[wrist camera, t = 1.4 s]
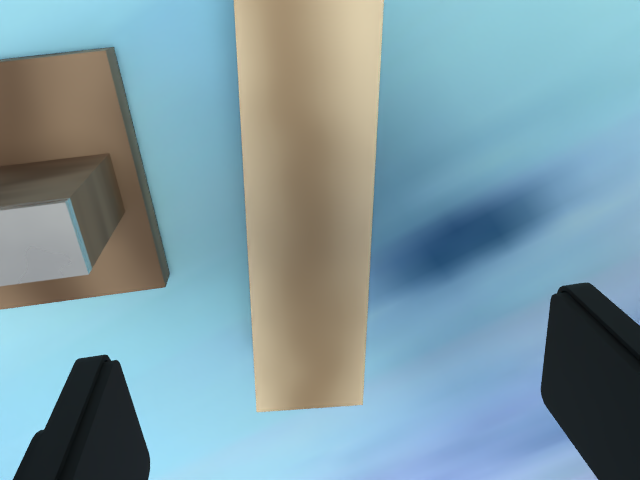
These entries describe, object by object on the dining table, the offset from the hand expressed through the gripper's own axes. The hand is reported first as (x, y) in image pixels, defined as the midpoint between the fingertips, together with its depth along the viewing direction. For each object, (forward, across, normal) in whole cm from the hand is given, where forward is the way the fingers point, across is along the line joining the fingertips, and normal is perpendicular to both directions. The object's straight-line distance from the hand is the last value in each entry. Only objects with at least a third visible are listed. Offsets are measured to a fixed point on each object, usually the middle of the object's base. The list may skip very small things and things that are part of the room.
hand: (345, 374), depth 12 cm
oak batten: (+18, -1, 0) cm, 18 cm away
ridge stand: (+18, +12, 0) cm, 22 cm away
